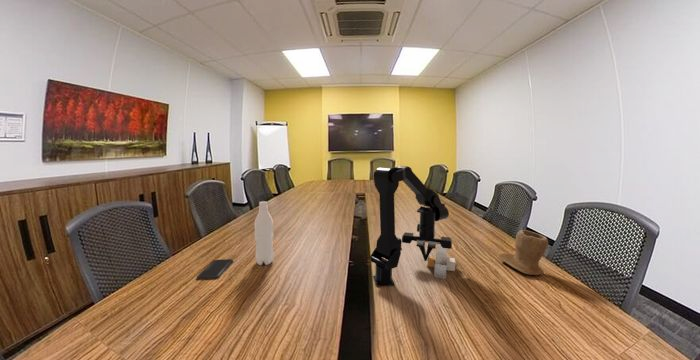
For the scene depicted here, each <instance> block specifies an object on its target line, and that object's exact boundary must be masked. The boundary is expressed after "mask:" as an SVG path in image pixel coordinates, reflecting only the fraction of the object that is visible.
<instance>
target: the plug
mask: <svg viewBox="0 0 700 360" xmlns="http://www.w3.org/2000/svg"><path fill="white" fill-rule="evenodd" d="M435 258H436V256H430V255H429V256H428V258H427V267H430V268H435ZM446 271H451V272H455V271H456V258H455V257H448V256H447V269H446Z"/></svg>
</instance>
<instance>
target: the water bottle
mask: <svg viewBox="0 0 700 360" xmlns="http://www.w3.org/2000/svg"><path fill="white" fill-rule="evenodd" d="M268 208H269V206H268V201H265V200H263V201H259V202H258V209H259V210H258V212H257V215H256V217H255V219H254V221H253V222H254V223H253V224H254V240H255V254H254V255H255V256H254V257H255V262H256V263H257V265H258V266H262V265H265V266H269V265H270V264H271V263H272V262H273V261H274V259H275V252H274V249H273V248H274V246H273V241H274V236H275V235H274V219H273V217H272V215H271V214H270V212H269V209H268Z"/></svg>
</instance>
